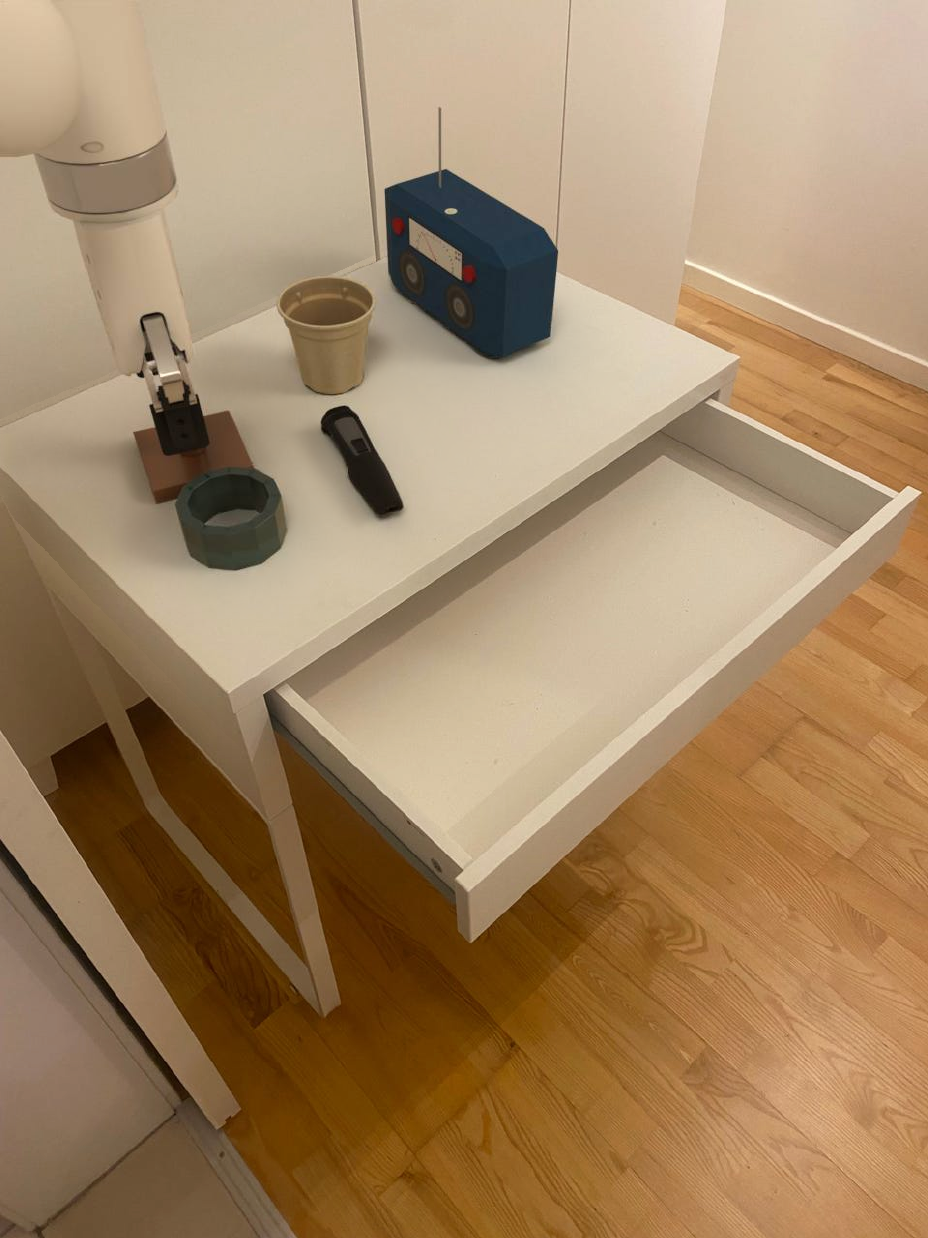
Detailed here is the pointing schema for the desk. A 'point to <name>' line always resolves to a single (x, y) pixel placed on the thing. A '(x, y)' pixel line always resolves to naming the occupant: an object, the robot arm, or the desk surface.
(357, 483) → the electric trimmer
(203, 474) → the ring
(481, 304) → the radio
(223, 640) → the desk surface
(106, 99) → the robot arm
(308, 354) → the flower pot
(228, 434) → the stand
